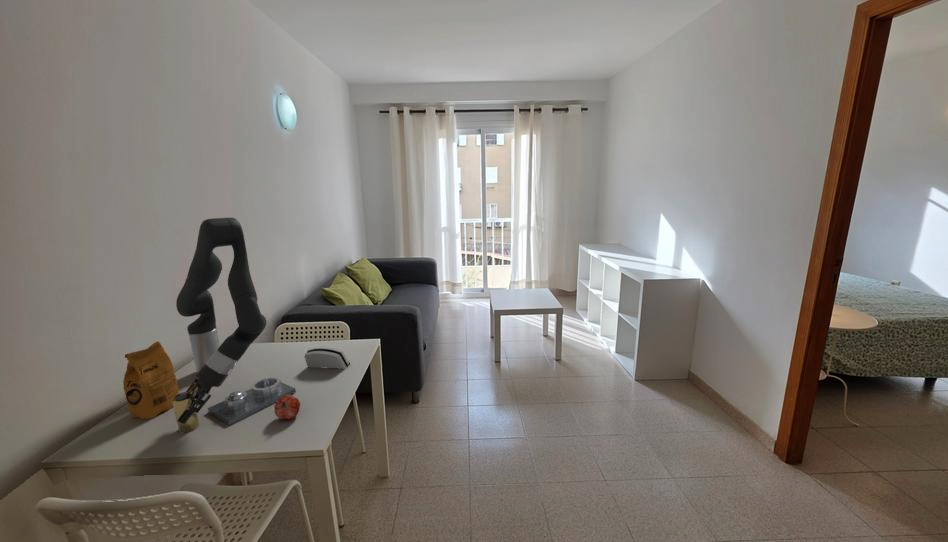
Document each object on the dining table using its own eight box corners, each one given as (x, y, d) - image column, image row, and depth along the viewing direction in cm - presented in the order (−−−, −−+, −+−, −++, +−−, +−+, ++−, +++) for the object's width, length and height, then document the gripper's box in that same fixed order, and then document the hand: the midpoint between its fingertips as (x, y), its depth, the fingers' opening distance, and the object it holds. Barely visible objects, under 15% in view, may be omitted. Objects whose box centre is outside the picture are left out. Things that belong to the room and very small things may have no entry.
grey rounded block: (351, 363, 157) (344, 345, 152) (346, 372, 153) (339, 353, 148) (314, 361, 160) (306, 343, 155) (308, 370, 156) (300, 352, 151)
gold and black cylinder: (176, 429, 118) (168, 396, 115) (194, 421, 122) (187, 389, 119) (183, 434, 115) (175, 401, 113) (202, 425, 119) (195, 393, 117)
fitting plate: (208, 412, 126) (205, 397, 125) (273, 382, 144) (271, 369, 143) (229, 425, 119) (226, 409, 118) (295, 392, 137) (293, 377, 135)
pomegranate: (280, 419, 125) (263, 416, 116) (288, 395, 128) (272, 391, 119) (302, 422, 124) (287, 420, 115) (309, 398, 127) (294, 394, 118)
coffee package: (125, 418, 125) (108, 355, 120) (163, 398, 137) (149, 339, 132) (148, 422, 122) (132, 357, 118) (186, 400, 134) (172, 341, 129)
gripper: (202, 355, 124) (164, 403, 119) (210, 370, 114) (168, 423, 109) (224, 365, 129) (188, 412, 124) (234, 380, 119) (195, 431, 114)
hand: (179, 417), depth 116 cm, fingers open, 6 cm apart
